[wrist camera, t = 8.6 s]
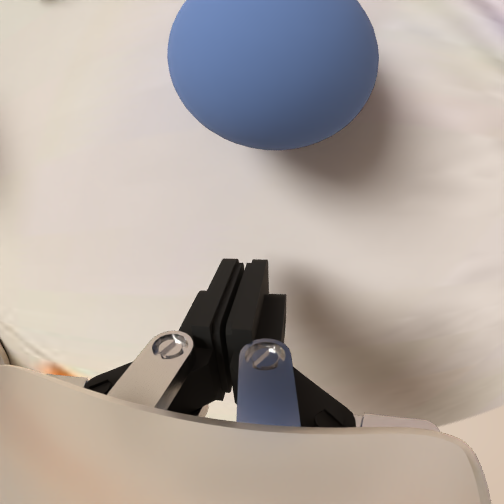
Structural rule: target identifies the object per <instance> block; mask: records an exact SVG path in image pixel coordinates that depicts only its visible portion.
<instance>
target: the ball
mask: <svg viewBox="0 0 504 504" xmlns="http://www.w3.org/2000/svg"><path fill="white" fill-rule="evenodd" d="M378 60H379V54H378V45H377V40H376V37H375V33H374V29H373V27H372V24H371V22H370V20H369V18H368V16H367V14H366V13H365V11H364V10H363V8H362V7H361V5H360V4H359V2H358V1H357V0H186V2H185V3H184V4H183V6H182V8H181V9H180V11H179V12H178V14H177V16H176V18H175V21H174V23H173V25H172V29H171V32H170V36H169V42H168V65H169V71H170V76H171V79H172V82H173V85H174V87H175V89H176V91H177V93H178V95H179V97H180V99H181V101H182V102H183V104H184V105H185V107H186V108H187V109H188V110H189V112H190V113H191V114H192V115H193V116H194V117H195V118H196V119H197V120H198V121H199V122H200V123H201V124H203V125H204V126H205V127H206V128H208V129H209V130H211V131H212V132H214V133H216V134H217V135H219V136H221V137H223V138H224V139H227V140H229V141H231V142H234V143H236V144H240V145H244V146H247V147H251V148H257V149H264V150H288V149H295V148H300V147H305V146H308V145H311V144H314V143H317V142H320V141H322V140H324V139H326V138H328V137H330V136H332V135H334V134H335V133H337V132H338V131H340V130H341V129H343V128H344V127H345V126H346V125H347V124H349V123H350V122H351V121H352V120H353V119H354V118H355V117H356V116H357V114H358V113H359V112H360V111H361V110H362V108H363V106H364V105H365V103H366V102H367V100H368V98H369V97H370V94H371V92H372V90H373V88H374V85H375V81H376V77H377V72H378Z"/></svg>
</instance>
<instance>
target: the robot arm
mask: <svg viewBox="0 0 504 504" xmlns="http://www.w3.org/2000/svg"><path fill="white" fill-rule="evenodd" d="M285 323H286V295H285V294H269V281H268V260H255V259H253V260H252V263H247V265H246V267H245V270H244V264H243V263H239V261H238V259H223V260H222V261H221V263H220V265H219V267H218V269H217V271H216V273H215V275H214V277H213V280H212V282H211V284H210V286H209V288H208V290H207V291H199V293H198V294H197V296H196V298H195V300H194V302H193V304H192V306H191V308H190V310H189V312H188V314H187V315H186V317H185V319H184V321H183V323H182V325H181V327H180V329H179V331H166V332H163V333H160V334H158V335H157V336H155V337H154V338H153V339H152V340H150V342H149V343H148V344H147V345H146V347H145V348H144V349H143V350H142V351H141V353H140V354H139V355H138V356H137V358H136V359H135V360H134V361H133V362H131V363H128V364H126V365H123V366H121V367H118V368H116V369H113V370H111V371H108V372H106V373H103V374H100V375H98V376H96V377H94V378H92V379H90V380H88V379H87V378H83V377H71V376H61V375H52V374H43V373H40V372H37V371H34V370H31V369H28V368H24V367H20V366H14V365H10V363H9V359H8V357H7V355H6V353H5V351H4V349H3V347H2V345H1V343H0V504H491V500H490V494H489V490H488V486H487V482H486V479H485V475H484V473H483V470H482V467H481V465H480V462H479V460H478V458H477V456H476V454H475V453H474V451H473V450H472V448H470V447H469V445H468V444H467V443H465V442H464V441H462V440H461V439H459V438H457V437H454V436H452V435H449V434H446V433H442V432H440V431H439V429H438V428H437V426H436V425H435V424H433V423H432V422H430V421H427V420H423V419H412V418H401V417H392V416H383V415H376V414H369V413H364V415H363V416H359V415H353V413H352V412H351V411H350V410H349V409H348V408H347V407H345V406H344V405H342V404H341V403H340V402H338V401H337V400H336V399H334V398H333V397H332V396H330V395H329V394H328V393H326V392H325V391H324V390H322V389H321V388H320V387H319V386H317V385H316V384H315V383H313V382H312V381H311V380H309V379H308V378H307V377H306V376H304V375H303V374H302V373H300V372H299V371H298V370H297V369H295V368H294V367H293V365H292V358H291V353H290V350H289V348H288V347H287V346H286V345H285V344H284V336H285ZM232 386H233V393H234V399H235V403H236V404H237V422H233V421H225V420H218V419H211V418H205V416H206V414H207V412H208V408H209V405H208V404H209V403H211V402H213V401H215V400H220V401H223V399H224V395H225V392H226V393H230V392H231V388H232Z"/></svg>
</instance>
